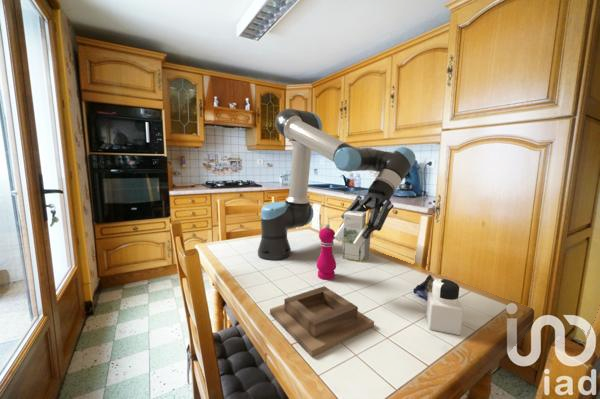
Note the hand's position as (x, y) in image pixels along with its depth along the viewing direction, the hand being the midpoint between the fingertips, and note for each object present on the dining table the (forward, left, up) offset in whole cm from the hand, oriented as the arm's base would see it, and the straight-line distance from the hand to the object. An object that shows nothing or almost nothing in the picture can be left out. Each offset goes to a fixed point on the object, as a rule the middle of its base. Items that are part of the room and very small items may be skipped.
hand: (346, 242), depth 82 cm
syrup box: (-1, +3, -6) cm, 7 cm away
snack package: (+7, +28, -19) cm, 35 cm away
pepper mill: (-17, +1, -19) cm, 25 cm away
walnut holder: (+8, -12, -18) cm, 23 cm away
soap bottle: (-32, +22, -19) cm, 43 cm away
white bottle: (+20, +18, -19) cm, 33 cm away
